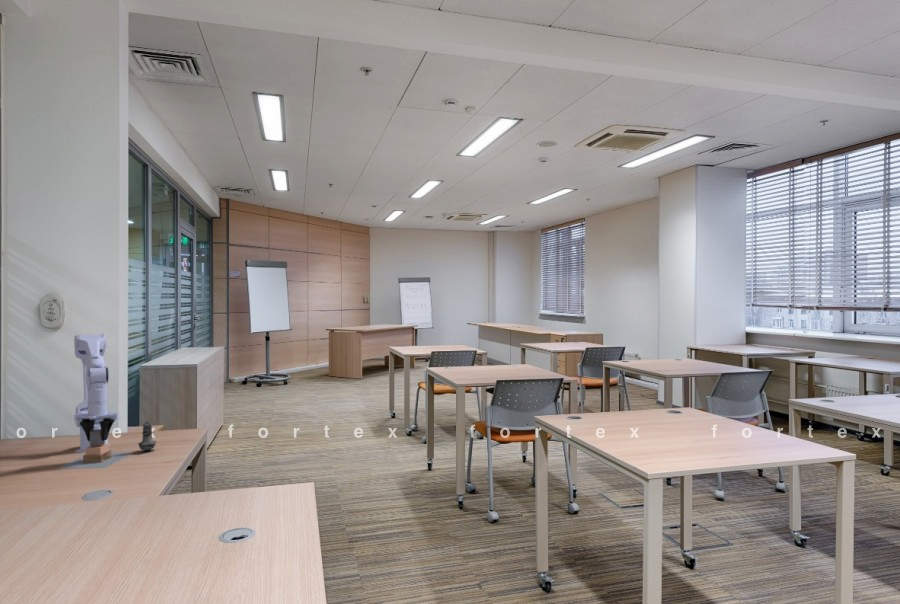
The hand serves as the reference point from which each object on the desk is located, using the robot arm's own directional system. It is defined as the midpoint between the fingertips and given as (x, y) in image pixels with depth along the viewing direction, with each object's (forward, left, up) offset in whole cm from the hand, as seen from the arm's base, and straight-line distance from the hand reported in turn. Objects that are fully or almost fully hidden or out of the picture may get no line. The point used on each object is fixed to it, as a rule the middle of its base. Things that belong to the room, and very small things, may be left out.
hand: (97, 440), depth 183 cm
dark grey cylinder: (0, 0, -1) cm, 1 cm away
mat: (0, 0, -7) cm, 7 cm away
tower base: (0, 0, -7) cm, 7 cm away
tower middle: (0, 0, -4) cm, 4 cm away
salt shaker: (-10, +12, -8) cm, 17 cm away
